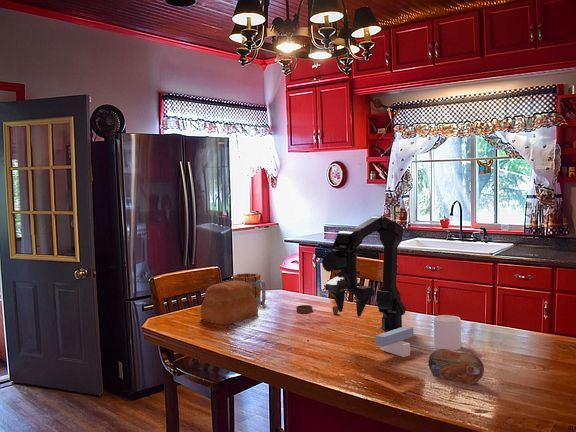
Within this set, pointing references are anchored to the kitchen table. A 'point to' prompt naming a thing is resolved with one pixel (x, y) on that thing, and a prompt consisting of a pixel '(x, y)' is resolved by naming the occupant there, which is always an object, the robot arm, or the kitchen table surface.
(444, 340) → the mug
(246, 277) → the mug
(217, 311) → the bread
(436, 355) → the tin
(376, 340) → the bar
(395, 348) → the fulcrum
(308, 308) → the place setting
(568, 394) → the kitchen table surface
